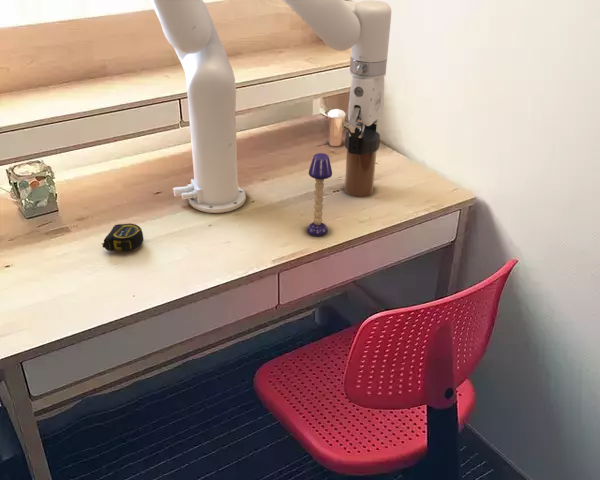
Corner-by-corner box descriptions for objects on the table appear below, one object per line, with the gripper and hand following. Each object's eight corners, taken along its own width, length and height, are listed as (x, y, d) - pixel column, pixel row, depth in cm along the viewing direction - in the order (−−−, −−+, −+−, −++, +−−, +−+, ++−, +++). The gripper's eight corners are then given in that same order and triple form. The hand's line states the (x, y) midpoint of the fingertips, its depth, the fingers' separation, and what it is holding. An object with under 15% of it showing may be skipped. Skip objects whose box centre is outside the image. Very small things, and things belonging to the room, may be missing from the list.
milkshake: (347, 147, 176) (349, 110, 170) (326, 147, 176) (328, 109, 170) (346, 140, 180) (348, 103, 174) (326, 140, 180) (328, 103, 174)
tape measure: (117, 236, 138) (114, 220, 136) (149, 239, 137) (147, 223, 135) (103, 253, 132) (100, 237, 130) (137, 257, 132) (134, 240, 129)
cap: (351, 137, 154) (352, 126, 153) (383, 143, 152) (384, 131, 150) (339, 149, 149) (340, 137, 147) (372, 156, 146) (373, 144, 145)
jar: (351, 198, 153) (355, 144, 146) (339, 186, 158) (342, 133, 151) (377, 194, 155) (383, 140, 148) (365, 182, 160) (369, 129, 153)
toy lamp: (305, 225, 143) (307, 151, 133) (327, 224, 144) (330, 150, 134) (308, 237, 139) (311, 161, 129) (331, 235, 140) (335, 160, 130)
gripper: (371, 81, 132) (364, 165, 143) (398, 57, 145) (390, 136, 156) (335, 75, 135) (331, 158, 145) (365, 52, 148) (359, 130, 158)
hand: (361, 146), depth 150 cm, fingers closed on cap, 7 cm apart
